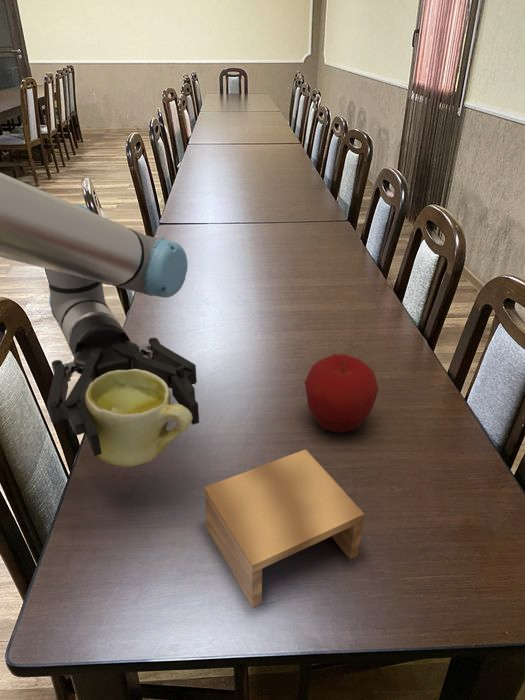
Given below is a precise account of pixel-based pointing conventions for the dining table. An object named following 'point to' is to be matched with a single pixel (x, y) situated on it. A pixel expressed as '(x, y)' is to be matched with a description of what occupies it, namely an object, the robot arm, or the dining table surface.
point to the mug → (133, 416)
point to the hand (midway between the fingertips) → (147, 429)
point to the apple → (340, 392)
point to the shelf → (278, 517)
